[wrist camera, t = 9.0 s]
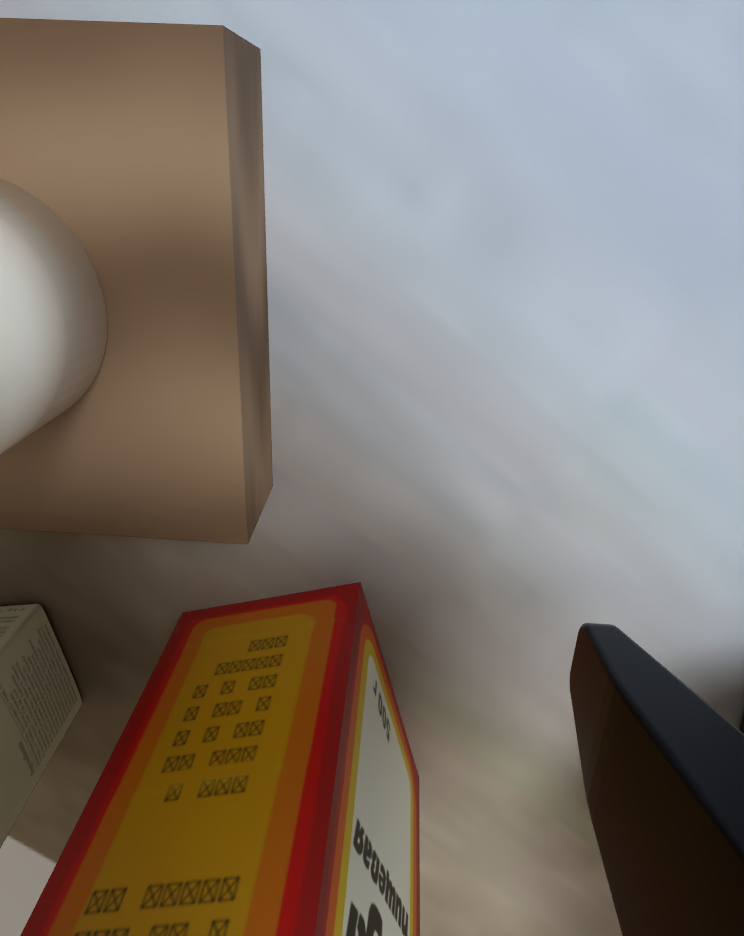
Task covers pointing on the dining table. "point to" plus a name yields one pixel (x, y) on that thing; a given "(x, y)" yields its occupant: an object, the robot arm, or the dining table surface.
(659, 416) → the dining table surface
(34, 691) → the box
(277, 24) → the dining table surface
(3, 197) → the ceramic jar
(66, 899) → the baking soda box
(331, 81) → the dining table surface
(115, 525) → the walnut block
